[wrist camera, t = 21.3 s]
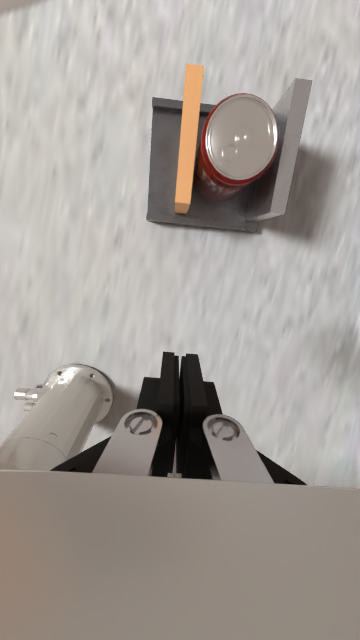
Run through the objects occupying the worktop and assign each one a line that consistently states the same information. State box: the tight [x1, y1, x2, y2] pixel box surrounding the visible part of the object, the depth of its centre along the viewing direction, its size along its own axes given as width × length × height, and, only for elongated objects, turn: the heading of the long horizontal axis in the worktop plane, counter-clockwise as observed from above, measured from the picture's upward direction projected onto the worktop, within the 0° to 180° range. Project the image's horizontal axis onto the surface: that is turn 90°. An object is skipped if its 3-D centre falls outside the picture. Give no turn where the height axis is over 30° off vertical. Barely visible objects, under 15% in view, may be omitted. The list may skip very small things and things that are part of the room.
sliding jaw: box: [175, 64, 204, 214], centre depth 28 cm, size 2×11×10 cm, turn 174°
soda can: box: [193, 93, 279, 202], centre depth 28 cm, size 7×7×12 cm
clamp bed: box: [146, 78, 312, 232], centre depth 29 cm, size 16×14×12 cm
